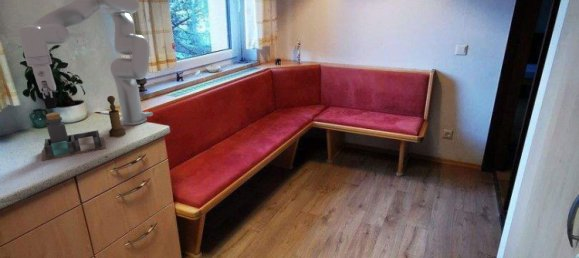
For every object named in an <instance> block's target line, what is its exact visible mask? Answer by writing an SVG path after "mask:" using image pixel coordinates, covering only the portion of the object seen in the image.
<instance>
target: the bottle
mask: <svg viewBox="0 0 579 258" xmlns="http://www.w3.org/2000/svg"><path fill="white" fill-rule="evenodd" d="M45 117H46V123H48V124H47V125H46V129H47V132H48V136H49V139H50V140H51V143H57V142H63V141H67V142H69V139H68V132H67V128H66V125H65V122H63V121H62V120H63V117H62V116H61V113H60V112H59V111H58V112H57V111H55V112H50V113H47V114H45Z"/></svg>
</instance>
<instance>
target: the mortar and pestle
mask: <svg viewBox="0 0 579 258" xmlns="http://www.w3.org/2000/svg"><path fill="white" fill-rule="evenodd" d="M106 100H107V102H108V103H109V105H110V106H109V109H110V110H109V111H108V115H109V120H110V125H111V126H110V127H111V128H110V129H109V132H108V133H109V136H110V137H112V138H118V137H119V138H121V137H123V136H126V134H127V132H126V129H125V128H124V127H123V126H122V125H121V122H120V120H121V117H120V111H119V110H118V109H116V105H115V100H116V98H115V96H113V95H108V96H107V99H106Z"/></svg>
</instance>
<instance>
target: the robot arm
mask: <svg viewBox="0 0 579 258" xmlns="http://www.w3.org/2000/svg"><path fill="white" fill-rule="evenodd" d="M100 9H104V10H105V11H106V12H107V13H108V14H109V16H110V17H111V18H112V20H113V22H114V23H113V24H114V50H115V52H116V53H117V54H119V55H122V56H131V58H130V57H119V58H115V59H114V60H112V62H111V63H110V72H111V75H112V78H113V81H114V83H115V87H116V91H117V99H118V103H119V107H120V108H119V109H120V114H121V117H122V118H120V122H121V126H137V125H141V124H143V123H145V122H147V120H148V118H147V117H152V116H154V113H153V112H152V111H150V112H149V111H145V112H144V111H143V108H142V102H141V97H140V90H139V85H138V82H137V81H136V80H143V79H146V77H147V76H148V73H149V64H150V63H149V61H150V46H149V42H148V40H147V38H146V37H144V36H143V35H141V34H136V25H135V21H134V19H133V18H132V17H131V15H130V14H135V13H137V12H138V11H139V9H140V2H139V0H71V1H69V2H68V3H66V4H65V5H63V6H60V7H58V8H56V9H54V10H52V11H50V12H48V13H46V14H44V15H43V16H42V17H40V18H38V19H37V20H36V21H35V22H34V23H33V24H32V25H24V26H23V25H22V26H19V27H17V34H18V37H19V41H20V44H21V47H22V51H23V54H24V57H25V58H24V59H25V61H26V64H27V67H30V68H32V71H33V74H34V78H35V81H36V84H37V86H38V87H37V88H38V90H39V93H42V97H43V103H44V106H45V109H46V110H52V109H56V108H57V104H56V103H57V102H58V101H57V98H56V97H57V96H56V94H55V92H56V90H57V85H56V82H55V78H54V74H53V72H52V68H51V66H50V65H52V64H53V62H52V58H51V55H50V54H51V53H50V50H49V47H48V45H63V44H65V43H66V42H68V41H69V39H70V36H71V35H70V31H69V30H68V27H69V28H70V27H73V26H78V25H80V24H84V23H85V22H87V21H88V20H90V18H92V16H93V15H95V14H96V13H97V12H98V11H99V10H100Z"/></svg>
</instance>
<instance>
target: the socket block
mask: <svg viewBox="0 0 579 258" xmlns="http://www.w3.org/2000/svg"><path fill="white" fill-rule="evenodd" d="M67 135H68V134H67ZM68 139H69V142H67V141H63V142H57V143H51V140H50V138H45V139H44V144H43V149H42V154H41V155H42V156H41V161H42V162H46V161H49V160H55V159H59V158H65V157H69V156H74V155H80V154H85V153H90V152H95V151H100V150H101V151H102V150H104V149H105V150H106V149H107V145H106V141H105V139H104V136H100V133H99V130H92V131H85V132H79V133H74V134H69V135H68Z"/></svg>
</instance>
